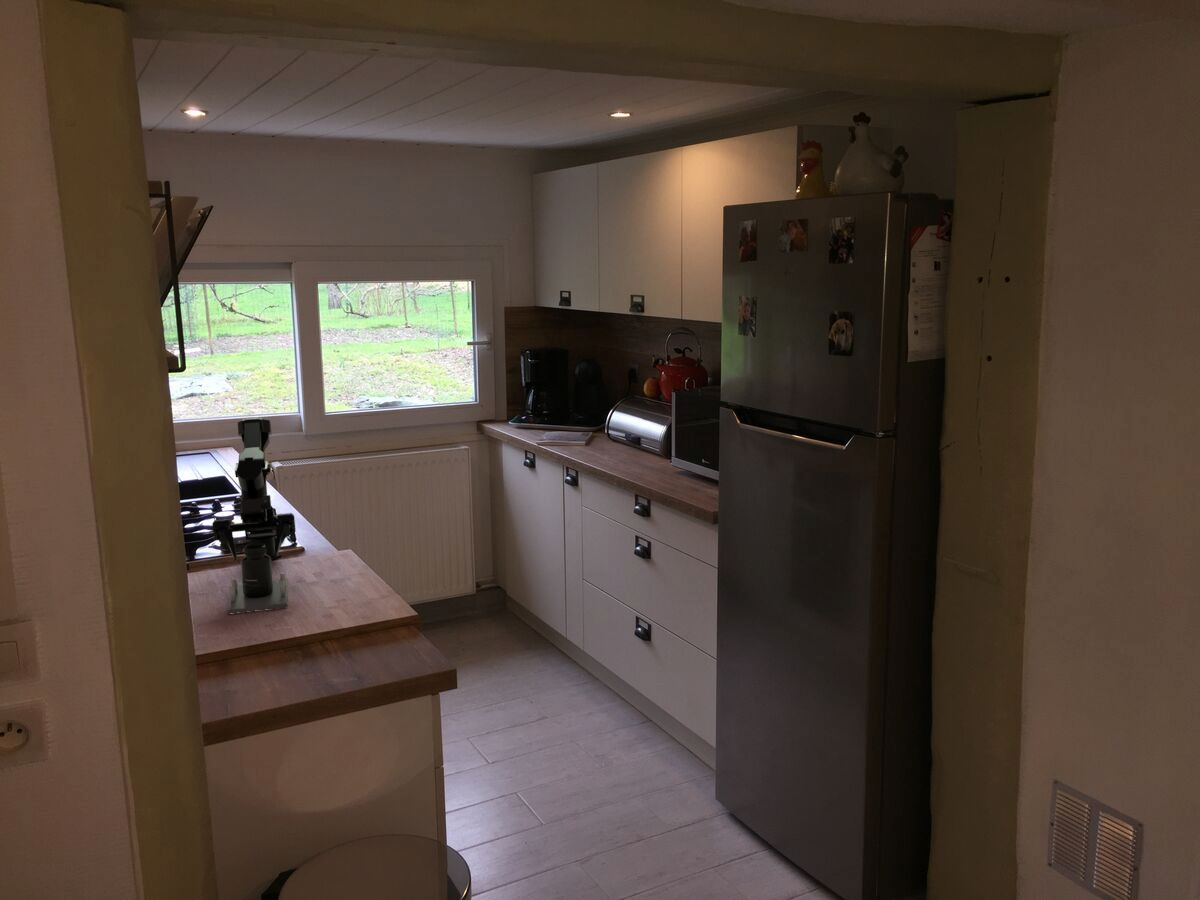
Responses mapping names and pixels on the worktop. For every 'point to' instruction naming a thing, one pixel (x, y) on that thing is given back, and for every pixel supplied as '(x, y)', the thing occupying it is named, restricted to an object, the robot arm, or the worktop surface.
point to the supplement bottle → (256, 571)
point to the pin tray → (271, 601)
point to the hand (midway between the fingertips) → (255, 557)
